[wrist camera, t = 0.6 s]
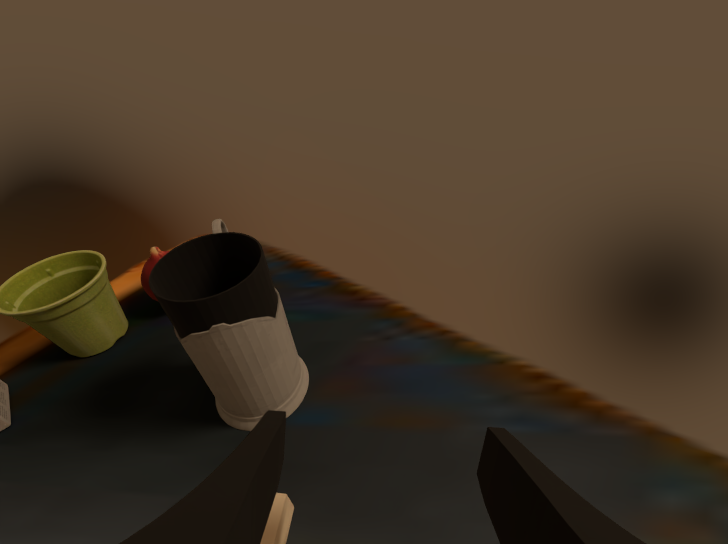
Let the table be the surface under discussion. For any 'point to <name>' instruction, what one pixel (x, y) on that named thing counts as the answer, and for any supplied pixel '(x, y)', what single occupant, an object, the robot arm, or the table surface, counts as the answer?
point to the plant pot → (67, 302)
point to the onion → (147, 268)
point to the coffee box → (4, 406)
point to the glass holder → (232, 324)
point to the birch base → (278, 521)
